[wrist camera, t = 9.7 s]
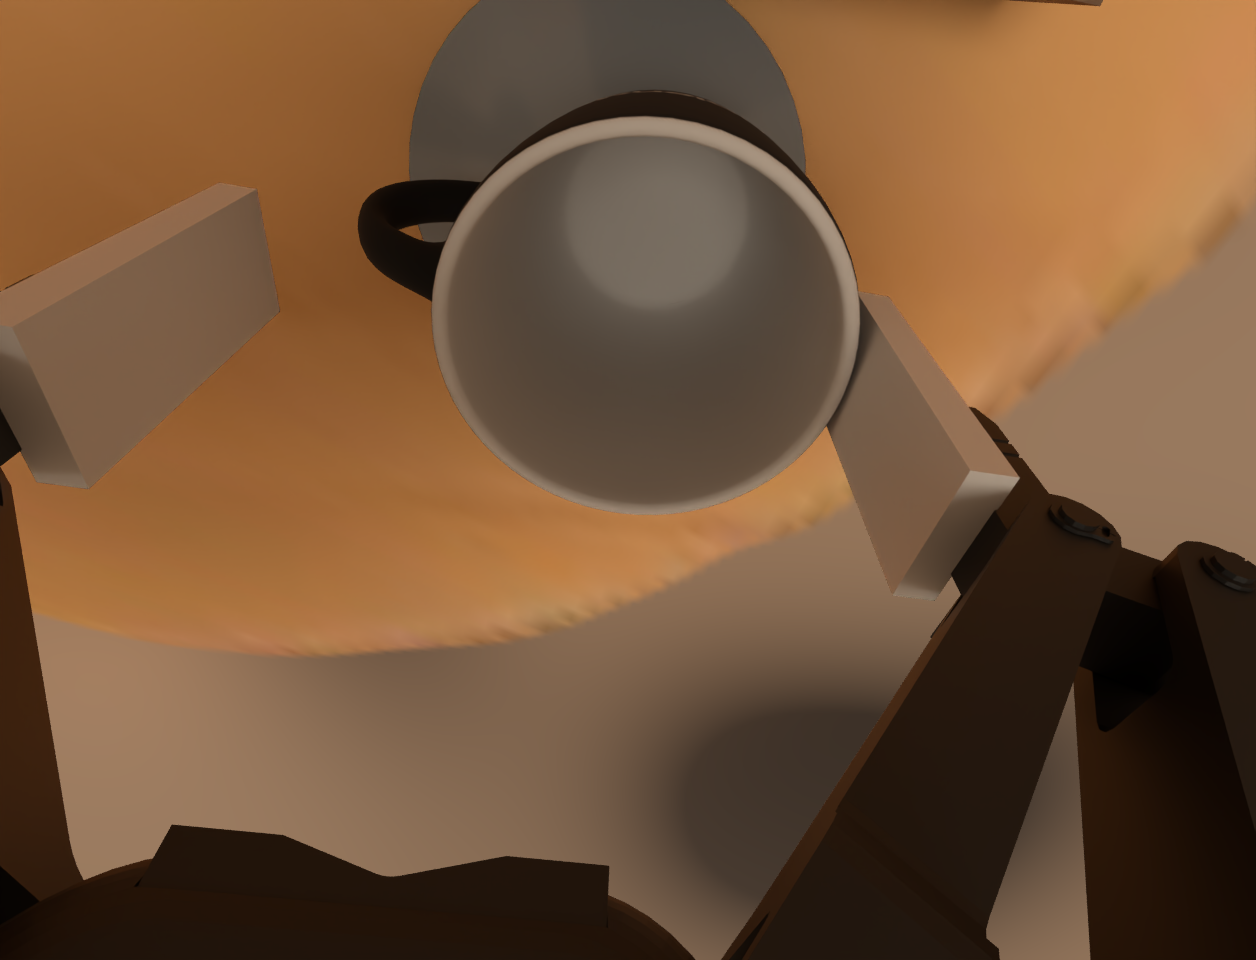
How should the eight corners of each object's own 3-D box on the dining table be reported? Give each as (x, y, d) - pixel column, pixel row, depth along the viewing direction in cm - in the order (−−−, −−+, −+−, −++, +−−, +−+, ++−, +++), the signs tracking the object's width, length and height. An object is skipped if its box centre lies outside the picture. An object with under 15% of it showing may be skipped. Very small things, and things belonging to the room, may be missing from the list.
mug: (837, 98, 19) (951, 181, 11) (743, 364, 25) (774, 548, 17) (432, -3, 18) (237, 7, 10) (429, 295, 24) (300, 455, 16)
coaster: (422, 343, 25) (417, 349, 25) (404, -90, 17) (396, -92, 17) (742, 396, 26) (743, 403, 26) (864, 6, 18) (870, 6, 18)
